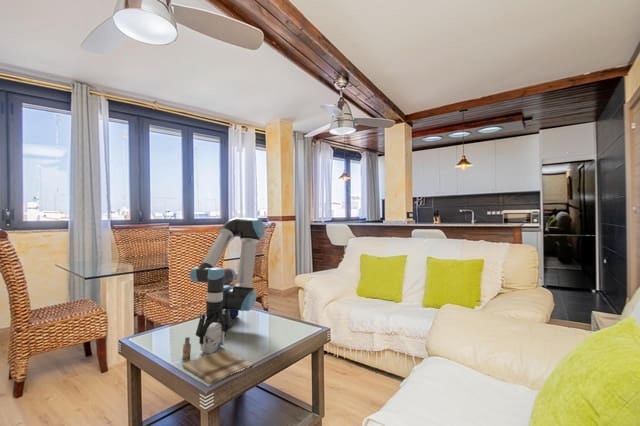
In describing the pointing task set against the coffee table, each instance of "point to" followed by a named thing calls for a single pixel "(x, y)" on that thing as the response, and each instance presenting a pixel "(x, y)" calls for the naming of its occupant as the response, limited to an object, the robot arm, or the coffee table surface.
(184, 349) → the brown bottle
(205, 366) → the board
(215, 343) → the ink box
